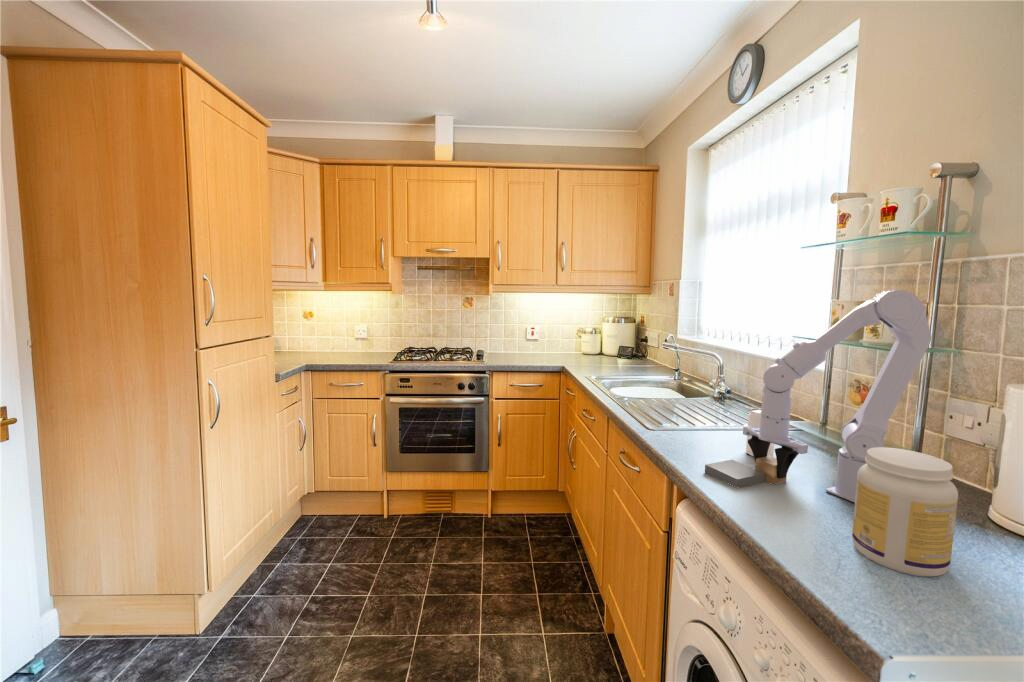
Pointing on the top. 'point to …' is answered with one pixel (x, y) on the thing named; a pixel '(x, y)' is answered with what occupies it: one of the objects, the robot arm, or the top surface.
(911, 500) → the supplement tub
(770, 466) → the oak block
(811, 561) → the top surface
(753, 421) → the can
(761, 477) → the slate base
